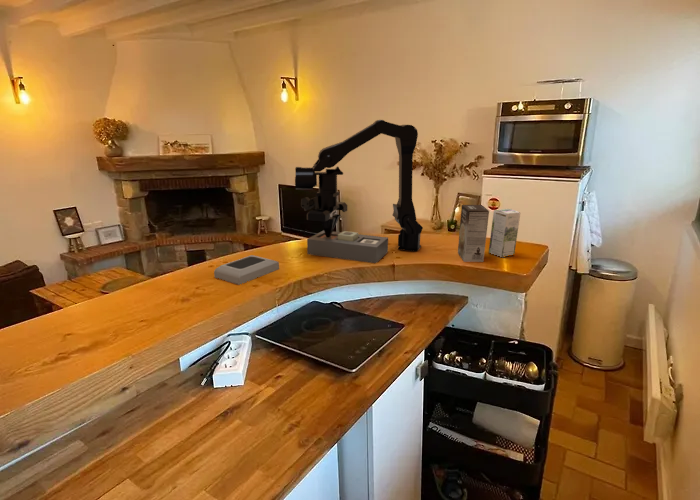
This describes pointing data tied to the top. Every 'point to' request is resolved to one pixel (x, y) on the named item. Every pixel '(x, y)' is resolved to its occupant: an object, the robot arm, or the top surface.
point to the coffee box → (473, 233)
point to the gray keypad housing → (348, 247)
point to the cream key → (369, 241)
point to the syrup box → (504, 232)
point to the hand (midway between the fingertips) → (328, 237)
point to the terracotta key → (328, 237)
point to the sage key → (348, 236)
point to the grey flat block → (245, 269)
